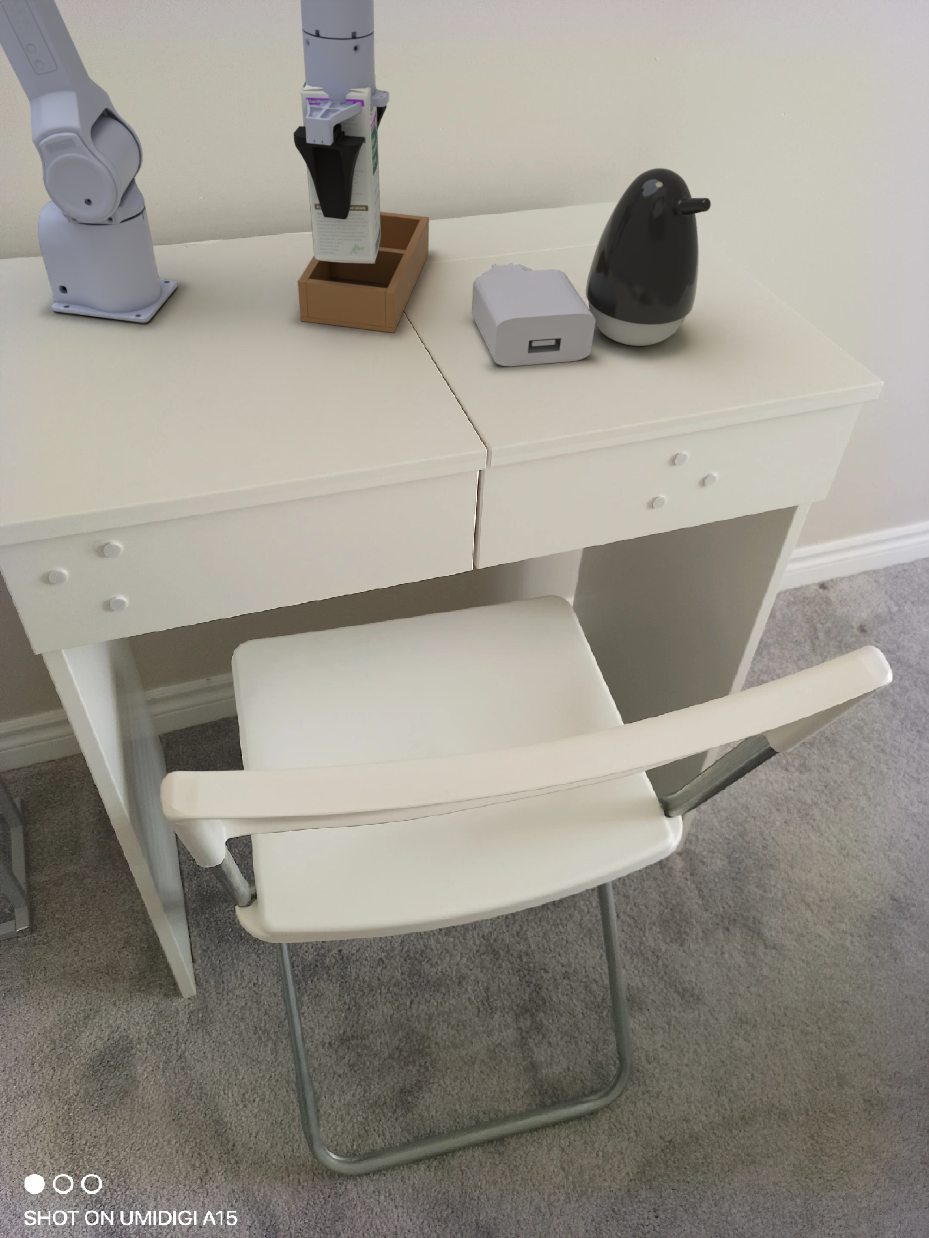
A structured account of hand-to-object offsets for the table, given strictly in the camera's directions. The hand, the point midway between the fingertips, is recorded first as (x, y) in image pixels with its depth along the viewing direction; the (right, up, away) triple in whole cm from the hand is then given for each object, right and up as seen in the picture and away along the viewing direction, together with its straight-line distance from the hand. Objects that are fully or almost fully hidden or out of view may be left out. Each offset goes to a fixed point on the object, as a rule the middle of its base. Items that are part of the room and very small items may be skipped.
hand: (345, 202), depth 86 cm
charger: (+16, -9, +7) cm, 20 cm away
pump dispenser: (+27, -10, +7) cm, 30 cm away
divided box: (+1, -4, +11) cm, 12 cm away
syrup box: (0, -3, +3) cm, 5 cm away
